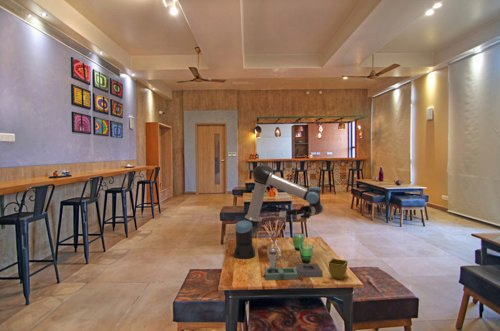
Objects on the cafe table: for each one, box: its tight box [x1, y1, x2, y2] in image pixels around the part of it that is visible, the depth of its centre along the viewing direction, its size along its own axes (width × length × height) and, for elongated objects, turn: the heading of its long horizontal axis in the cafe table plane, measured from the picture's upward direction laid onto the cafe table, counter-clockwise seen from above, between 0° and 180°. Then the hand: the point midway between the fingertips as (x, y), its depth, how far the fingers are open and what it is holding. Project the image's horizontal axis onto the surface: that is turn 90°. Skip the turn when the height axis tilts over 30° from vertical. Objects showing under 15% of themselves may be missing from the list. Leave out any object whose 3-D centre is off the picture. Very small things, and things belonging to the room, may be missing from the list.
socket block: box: [295, 263, 323, 278], centre depth 177 cm, size 13×13×3 cm
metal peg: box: [268, 247, 277, 273], centre depth 173 cm, size 4×4×16 cm
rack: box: [264, 266, 299, 281], centre depth 173 cm, size 10×18×3 cm, turn 91°
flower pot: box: [327, 258, 348, 280], centre depth 169 cm, size 9×9×9 cm
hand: (288, 216), depth 186 cm, fingers open, 13 cm apart
